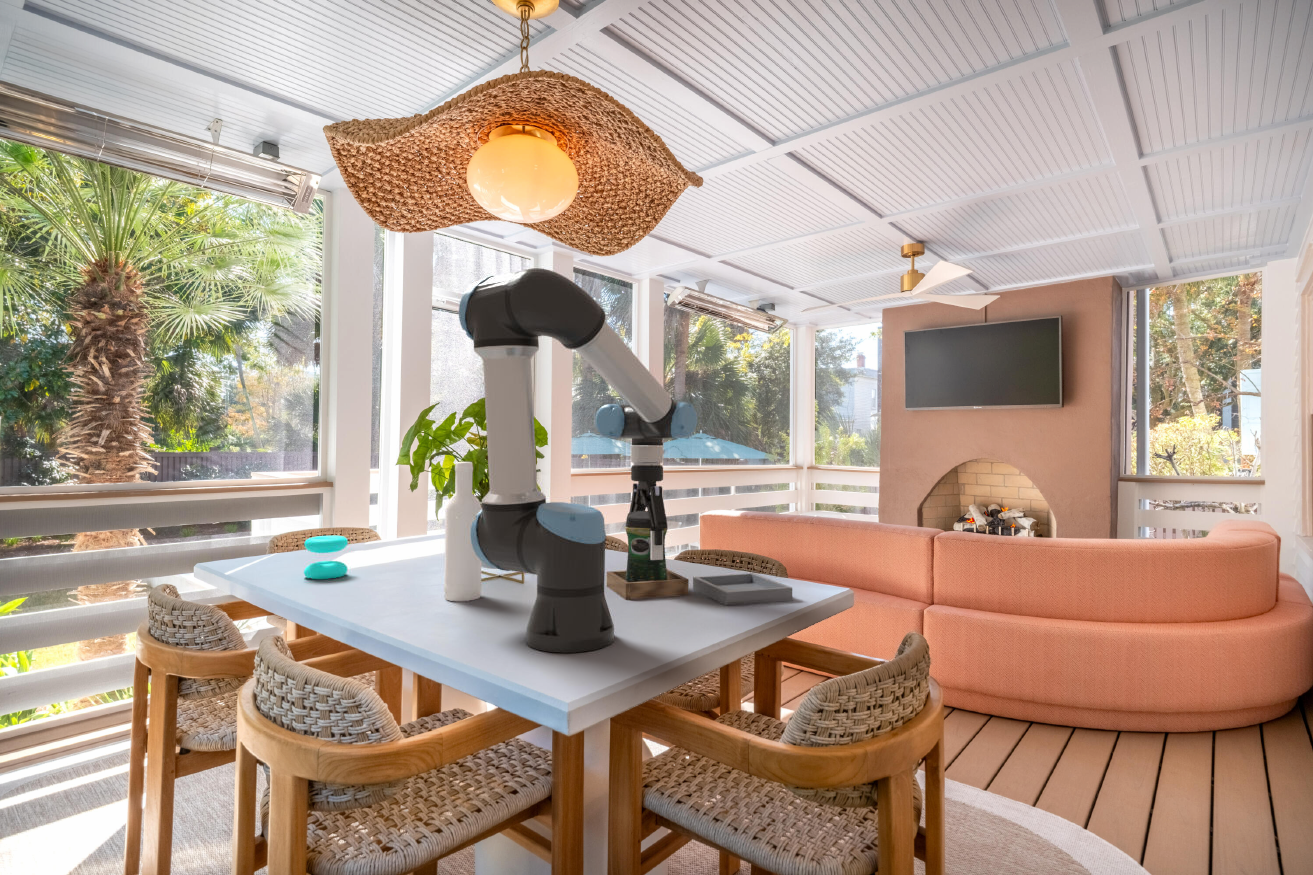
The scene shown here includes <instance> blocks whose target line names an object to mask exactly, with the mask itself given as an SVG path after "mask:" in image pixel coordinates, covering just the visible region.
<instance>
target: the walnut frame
mask: <svg viewBox="0 0 1313 875" xmlns="http://www.w3.org/2000/svg"><path fill="white" fill-rule="evenodd" d="M666 569H667V580H658V581H643V582H627V581H626V571H627V569H626V570H612V571H611V570H610V571H606V587H608V589H610V590H611V591H613V592H614V593H615V594H617V595H619V596H620V597H621V598H623V599H624V600H638V599H650V598H661V597H662V598H664V597H666V598H667V597H675V596H676V597H677V596H688V595H689V584H690V582H689V578H687V577H684V576H683V575H680V574H678V573H676V572H675V571H672V570H670V569H668V568H666Z"/></svg>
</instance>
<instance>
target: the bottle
mask: <svg viewBox="0 0 1313 875" xmlns="http://www.w3.org/2000/svg"><path fill="white" fill-rule="evenodd" d="M473 465H474V464H473V462H472V461H456V462H455V466H454V471H455V478H454V479H455V484H454V486H455V487H454V489H455V490H454V492H455V493H454V494H453V496H451V497H450V498H449V499H448V501H447V504H446V505H445V506H446V507H445V510H444V516H445V517H444V519H445V520H444V521H445V522H444V523H445V524H444V584H443V592H444V595H443V596H444V599H445V600H446V601H448V600H449V602H468V601H469V602H470V600H471V601H474V600H478V599H480V597H482V587H483V584H482V561H481V560H480V559H479V558H478V556H477V555H476V553H475V552H474V550H473V547H472V543H471V537H470V532H471V526H472V522H473V521H475V520H476V515H477V514H478V512H479V511H480V510H482V504H481V503H480V500H479V498H478V497H477V496H475V494H474V493H473V471H474V466H473ZM456 517H457V518H456Z"/></svg>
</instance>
